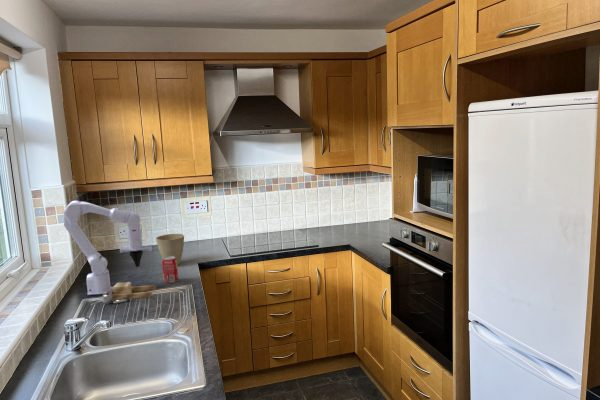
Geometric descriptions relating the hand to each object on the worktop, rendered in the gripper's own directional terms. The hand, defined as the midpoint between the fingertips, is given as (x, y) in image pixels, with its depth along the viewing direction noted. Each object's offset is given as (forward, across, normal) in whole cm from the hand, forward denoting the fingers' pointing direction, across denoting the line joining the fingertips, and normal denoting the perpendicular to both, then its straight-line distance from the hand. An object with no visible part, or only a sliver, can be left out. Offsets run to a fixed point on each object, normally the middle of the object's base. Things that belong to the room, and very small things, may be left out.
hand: (137, 266), depth 215 cm
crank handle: (+10, -3, -20) cm, 23 cm away
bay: (+10, 0, -11) cm, 15 cm away
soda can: (+10, +14, +4) cm, 18 cm away
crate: (+10, -5, -11) cm, 15 cm away
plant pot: (+10, +9, +33) cm, 36 cm away
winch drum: (+10, -8, -19) cm, 23 cm away
